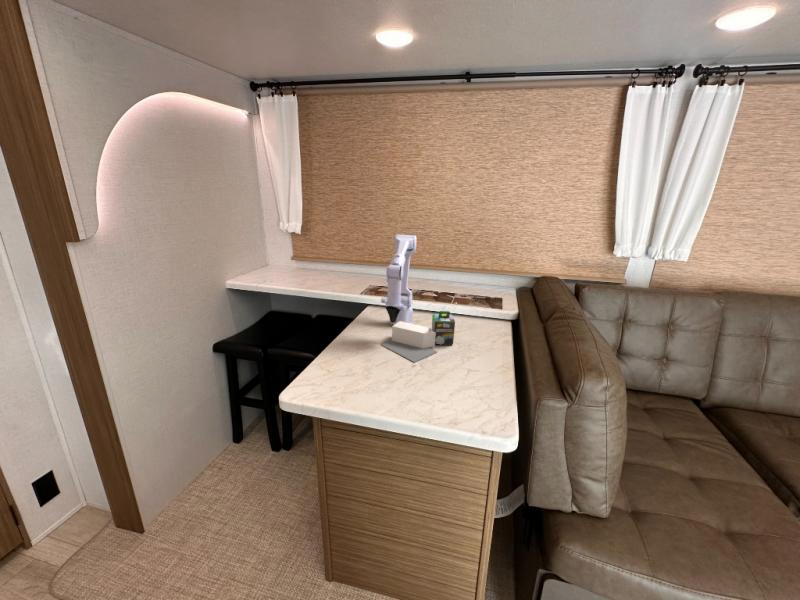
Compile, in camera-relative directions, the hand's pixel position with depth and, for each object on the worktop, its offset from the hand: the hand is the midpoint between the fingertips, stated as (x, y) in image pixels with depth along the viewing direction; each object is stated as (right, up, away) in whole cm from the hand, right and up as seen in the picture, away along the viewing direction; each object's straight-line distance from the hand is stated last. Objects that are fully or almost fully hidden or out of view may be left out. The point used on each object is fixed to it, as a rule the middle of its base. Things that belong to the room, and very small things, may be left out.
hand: (393, 322), depth 155 cm
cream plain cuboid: (+1, -4, +4) cm, 5 cm away
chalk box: (+22, -9, +5) cm, 24 cm away
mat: (+7, -11, -4) cm, 14 cm away
